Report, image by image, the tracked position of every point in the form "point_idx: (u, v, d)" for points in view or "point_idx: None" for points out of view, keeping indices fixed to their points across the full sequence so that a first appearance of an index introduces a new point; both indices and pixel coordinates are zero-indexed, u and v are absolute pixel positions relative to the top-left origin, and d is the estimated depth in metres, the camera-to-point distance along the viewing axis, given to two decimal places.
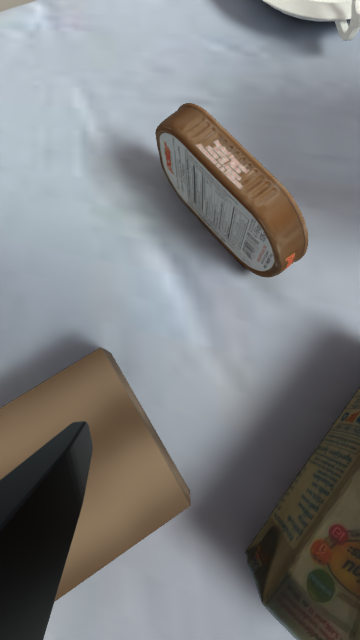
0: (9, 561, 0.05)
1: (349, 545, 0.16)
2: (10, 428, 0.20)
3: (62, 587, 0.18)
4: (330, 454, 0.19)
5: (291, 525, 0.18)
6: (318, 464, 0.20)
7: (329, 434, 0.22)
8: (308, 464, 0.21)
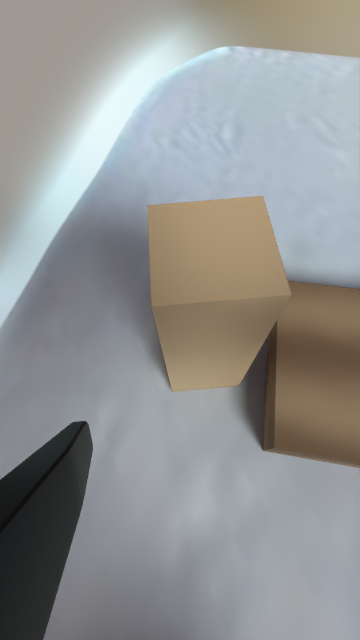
0: (9, 561, 0.05)
1: None
2: (336, 304, 0.22)
3: (328, 450, 0.17)
4: None
5: None
6: None
7: None
8: None
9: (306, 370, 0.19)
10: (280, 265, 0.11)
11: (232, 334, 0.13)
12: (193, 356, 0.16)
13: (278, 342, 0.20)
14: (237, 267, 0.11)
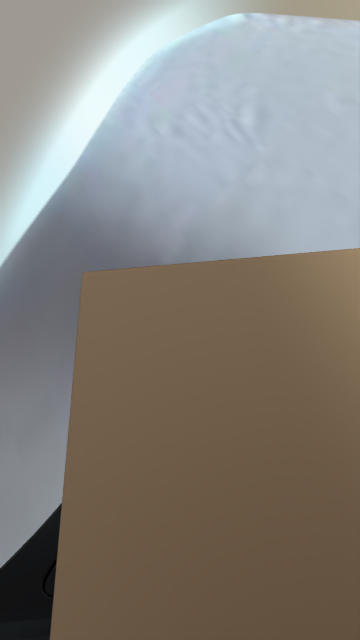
0: None
1: None
2: None
3: None
4: None
5: None
6: None
7: None
8: None
9: None
10: None
11: None
12: None
13: None
14: None
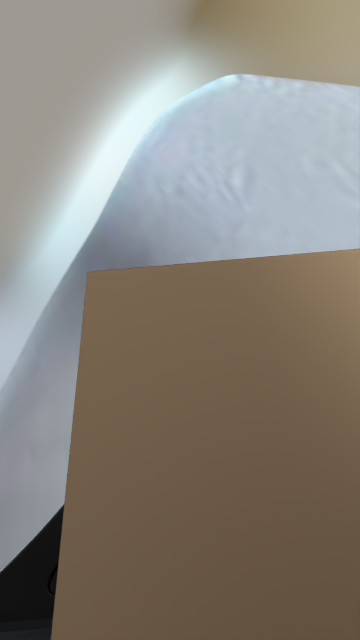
0: None
1: None
2: None
3: None
4: None
5: None
6: None
7: None
8: None
9: None
10: None
11: None
12: None
13: None
14: None
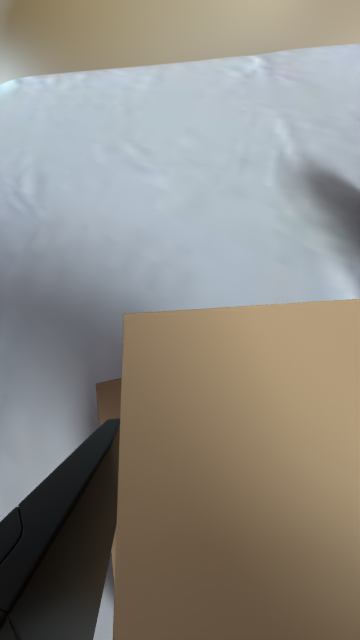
0: (69, 556, 0.05)
1: None
2: None
3: None
4: None
5: None
6: None
7: None
8: None
9: None
10: None
11: None
12: None
13: None
14: None
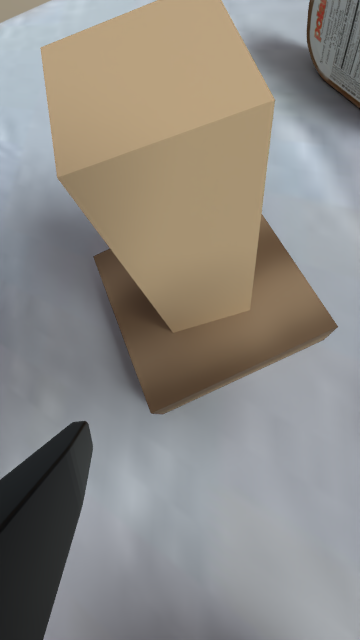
0: (9, 561, 0.05)
1: None
2: None
3: (195, 385, 0.18)
4: None
5: None
6: None
7: None
8: None
9: (150, 326, 0.19)
10: (250, 63, 0.07)
11: (209, 219, 0.09)
12: (173, 271, 0.12)
13: (116, 315, 0.20)
14: (182, 87, 0.07)
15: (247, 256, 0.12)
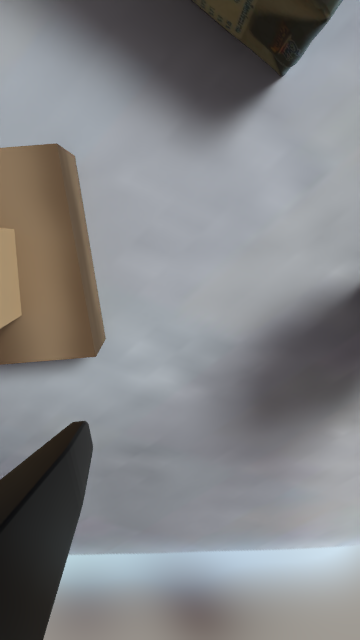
0: (9, 561, 0.05)
1: None
2: None
3: (80, 310, 0.18)
4: None
5: None
6: None
7: None
8: None
9: (9, 334, 0.18)
10: None
11: None
12: None
13: None
14: None
15: None
